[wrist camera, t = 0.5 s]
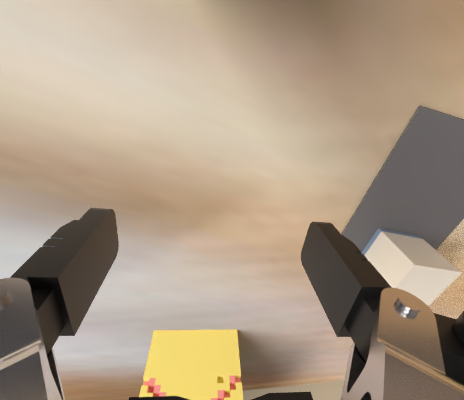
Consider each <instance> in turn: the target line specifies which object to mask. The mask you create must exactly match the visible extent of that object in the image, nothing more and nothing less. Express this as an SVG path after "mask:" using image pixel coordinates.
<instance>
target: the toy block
mask: <svg viewBox="0 0 464 400" xmlns="http://www.w3.org/2000/svg"><path fill="white" fill-rule="evenodd" d="M240 378H241V369H240V357H239V346H238V334H237V330H157V331H154V332H153V337H152V341H151V346H150V350H149V355H148V359H147V364H146V368H145V373H144V377H143V380H144V383H143V386H141V391H140V395H139V397H158V396H179V397H182V398H186V399H189V400H243V392H242V382H241V379H240Z"/></svg>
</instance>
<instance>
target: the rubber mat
mask: <svg viewBox="0 0 464 400" xmlns="http://www.w3.org/2000/svg"><path fill="white" fill-rule="evenodd" d="M463 219H464V119H461V118H457V117H454V116H451V115H448V114H445V113H441V112H438V111H435V110H432V109H429V108H425V107H422V106H419V107H418V109H417V111H416V112H415V114H414V116H413V117H412V119H411V120H410V122H409V124H408V125H407V127H406V129H405V130H404V132H403V134H402V135H401V137H400V139H399V140H398V142H397V144H396V145H395V147H394V149H393V150H392V152H391V154H390V155H389V157H388V158H387V160H386V162H385V163H384V165H383V167H382V168H381V170H380V172H379V173H378V175H377V177H376V178H375V180H374V182H373V183H372V185H371V187H370V188H369V190H368V192H367V193H366V195H365V196H364V198H363V200H362V201H361V203H360V205H359V206H358V208H357V210H356V211H355V213H354V215H353V216H352V218H351V220H350V221H349V223H348V225H347V226H346V228H345V229H344V231H343V233H342V234H341V235H343V236H345V237H346V238H347V239H349V240H350V241H352V242H353V243H354V244H355V245H356V246H357V247H358V249H359V250H360V251H361V253H362V251H363V250H364V248H365V247H366V245H367V244H368V242H369V241H370V240H371V238H372V237H373V235H374V234H375V232H376V231H377V229H378V228H381V229H386V230H391V231H396V232H402V233H407V234H412V235H417V236H420V237H421V238H422V239H424V240H425V241H426V242H427V243H428V244H429V245H431V246H432V247H433V248H434V249H435V250H436V249H437V248H438V247H439V246H440V245H441V244H442V242H443V241H444V240H445V239H446V238H447V237H448V236H449V234H450V233H451V232H452V231H453V230H454V229H455V228H456V227H457V225H458V224H459V223H460V222H461V221H462V220H463Z"/></svg>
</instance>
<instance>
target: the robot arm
mask: <svg viewBox="0 0 464 400" xmlns="http://www.w3.org/2000/svg"><path fill="white" fill-rule="evenodd" d="M117 252H118V234H117V226H116V218H115V212H114V210H113V209H100V208H90V209H89V210H88V211H87V212H86V213H85V214H84V215H83V216H82V218H81V219H80V220H73V221H72V222H70V223H68V224H66V225H64V226H62V227H60V228H59V229H58V230H57V231H56V232H55V233H54V234H53V235H52V236H51V239H48V240H47V241H46V242H45V243H44V244H43V247H40V248H39V249H38V250H37V251H36V252H35V253H34V254H33V255H32V256H31V257H30V258H29V259H28V260H27V261H26V262H25V263H24V264H23V265H22V266H21V267H20V268H19V269H18V270H17V271H16V272H15V273H14V274H13V275H12V276H11V277H10V278H4V279H0V400H65V397H64V393H63V389H62V384H61V380H60V376H59V371H58V367H57V363H56V358H55V354H54V350H53V348H52V347H53V345H54V344H55V342H56V340H57V339H58V337H59V336H74V335H75V334H76V332H77V330H78V328H79V326H80V324H81V322H82V320H83V318H84V317H85V315H86V313H87V311H88V309H89V307H90V305H91V303H92V302H93V300H94V298H95V296H96V294H97V292H98V290H99V288H100V286H101V285H102V283H103V281H104V279H105V277H106V275H107V273H108V271H109V269H110V268H111V266H112V264H113V262H114V260H115V258H116V256H117ZM301 261H302V265H303V267H304V269H305V271H306V273H307V275H308V277H309V280H310V282H311V284H312V286H313V288H314V290H315V292H316V294H317V296H318V298H319V300H320V302H321V304H322V306H323V308H324V311H325V313H326V315H327V317H328V319H329V321H330V323H331V325H332V327H333V329H334V331H335V333H336V335H337V337H351V338H352V340H353V344H352V346H351V349H350V354H349V359H348V364H347V370H346V375H345V380H344V386H343V391H342V396H341V400H464V311H463V312H462V314H461V315H460V316H459V317H458V319H453V318H449V317H446V316H442V315H439V314H435V313H433V312H432V310H431V309H430V308H429V307H428V306H427V305H426V304H425V303H424V302H423V301H422V300H420V299H419V298H417V297H416V296H414V295H413V294H411V293H409V292H407V291H404V290H401V289H398V288H392V287H391V286H390V285H389V284H388V282H387V281H386V280H385V279H384V278H383V277H382V275H381V274H380V273H379V272H378V271H377V270H376V268H375V267H374V266H373V265H372V264H371V263H370V261H368V259H367V258H366V257H365V256H364V254H361V251H360V250H359V249H358V247H357V246H356V245H355V244H354V243H353V242H352V241H350V240H349V239H347V238H346V237H345V236H343V235H341V234H340V233H339V232H338V230H337V229H336V228H335V227H334V226H333V224H331V223H325V222H312V223H311V224H310V226H309V229H308V232H307V235H306V238H305V242H304V245H303V248H302V252H301ZM129 400H189V399H186V398H182V397H179V396H158V397H129ZM252 400H313V398H312V395H311V392H294V393H268V394H266V395H263V396H260V397H257V398H255V399H252Z"/></svg>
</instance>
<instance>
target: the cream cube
mask: <svg viewBox="0 0 464 400" xmlns="http://www.w3.org/2000/svg"><path fill="white" fill-rule="evenodd" d="M361 254H364V256H365V257H366V258H367V259H368V261H370V263H371V264H372V265H373V266H374V267H375V268H376V270H377V271H378V272H379V273H380V274H381V275H382V277H383V278H384V279H385V280H386V281H387V282H388V284H389V285H390V286H391V287H392V288H398V289H401V290H404V291H407V292H409V293H411V294H413V295H414V296H416V297H417V298H419V299H420V300H422V301H423V302H424V303H425V304H426V305H427V306H429V305H430V304H431V303H432V302H433V301H434V300H435V299H436V298H437V297H438V296H439V295H440V294H441V293H442V292H443V291H444V290H445V289H446V288H447V287H448V286H449V285H450V284H451V283H452V282H453V281H454V280H455V279H457V278H458V277H459V276H460V275H461V274H462V272H461V271H460V270H459V269H458V268H456V267H455V266H454V265H453V264H452V263H451V262H449V261H448V260H447V259H446V258H445V257H444V256H442V255H441V254H440V253H439V252H438V251H436V250H435V249H434V248H433V247H432V246H431V245H429V244H428V243H427V242H426V241H425V240H424V239H422V238H421V237H420V236H417V235H412V234H407V233H402V232H396V231H391V230H386V229H381V228H378V229H377V231H376V232H375V234H374V235H373V237H372V238H371V240H370V241H369V242H368V244H367V245H366V247H365V248H364V250H363V251H362V253H361Z"/></svg>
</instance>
